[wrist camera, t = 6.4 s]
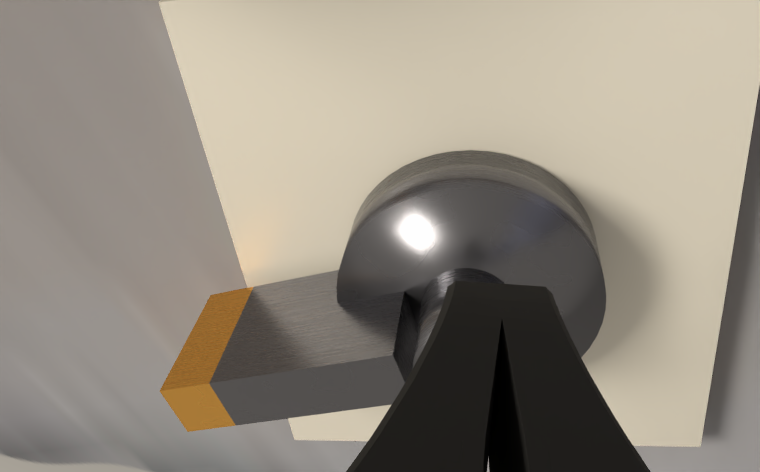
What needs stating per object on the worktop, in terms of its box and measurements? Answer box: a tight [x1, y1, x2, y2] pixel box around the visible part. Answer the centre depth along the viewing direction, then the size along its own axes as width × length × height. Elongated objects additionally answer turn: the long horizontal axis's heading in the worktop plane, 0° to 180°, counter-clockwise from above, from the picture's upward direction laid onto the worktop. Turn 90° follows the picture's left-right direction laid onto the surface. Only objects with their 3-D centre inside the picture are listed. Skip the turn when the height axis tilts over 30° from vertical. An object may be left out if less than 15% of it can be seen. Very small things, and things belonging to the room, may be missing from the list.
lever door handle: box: [160, 150, 606, 432], centre depth 19 cm, size 12×7×4 cm, turn 109°
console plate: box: [159, 0, 760, 447], centre depth 20 cm, size 14×16×1 cm
